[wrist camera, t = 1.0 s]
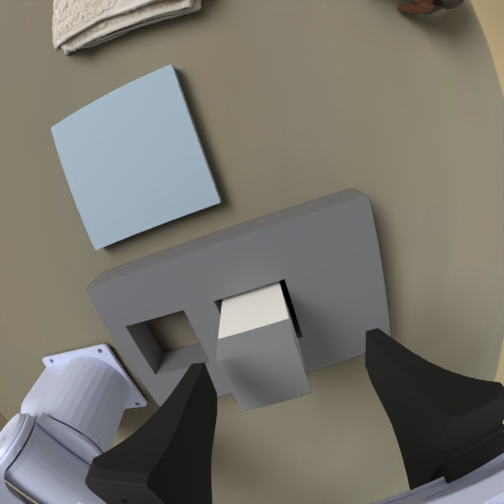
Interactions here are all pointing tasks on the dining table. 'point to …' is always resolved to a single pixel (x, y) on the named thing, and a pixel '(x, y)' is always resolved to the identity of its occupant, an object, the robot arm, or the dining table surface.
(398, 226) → the dining table surface
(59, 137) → the pad
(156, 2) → the washcloth
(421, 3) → the broken clay pot
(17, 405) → the dining table surface
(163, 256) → the gray socket board
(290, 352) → the plug
